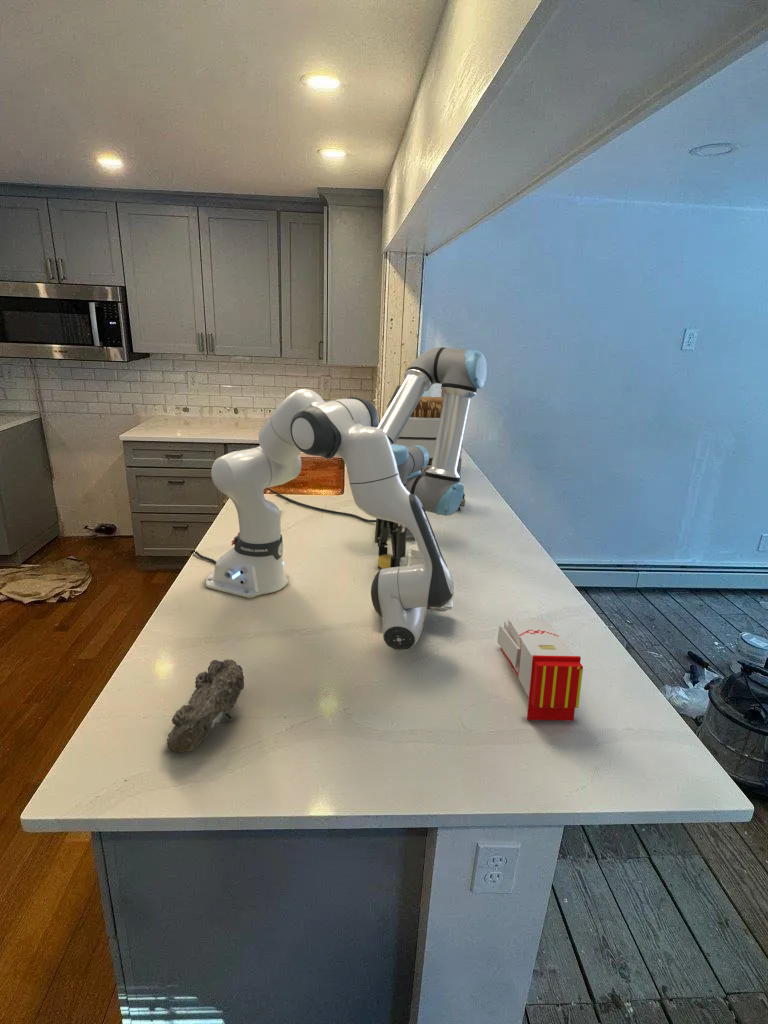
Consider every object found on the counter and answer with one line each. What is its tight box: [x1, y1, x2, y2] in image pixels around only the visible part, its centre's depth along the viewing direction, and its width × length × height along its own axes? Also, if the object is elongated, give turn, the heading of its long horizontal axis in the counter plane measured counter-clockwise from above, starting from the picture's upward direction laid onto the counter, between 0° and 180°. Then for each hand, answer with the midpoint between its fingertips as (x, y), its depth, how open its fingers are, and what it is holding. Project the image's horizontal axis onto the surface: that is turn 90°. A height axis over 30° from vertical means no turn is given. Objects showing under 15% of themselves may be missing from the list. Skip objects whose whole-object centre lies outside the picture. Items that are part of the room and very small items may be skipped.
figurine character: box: [457, 493, 466, 511], centre depth 229 cm, size 7×8×15 cm
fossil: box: [166, 658, 245, 754], centre depth 106 cm, size 22×10×15 cm
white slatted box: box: [386, 384, 464, 483], centre depth 268 cm, size 34×33×41 cm
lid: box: [377, 553, 393, 569], centre depth 170 cm, size 6×6×2 cm
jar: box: [406, 543, 424, 566], centre depth 151 cm, size 6×6×16 cm
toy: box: [497, 618, 584, 722], centre depth 122 cm, size 12×13×30 cm
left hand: (417, 580), depth 152 cm, fingers closed on jar, 5 cm apart
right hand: (388, 571), depth 171 cm, fingers closed on lid, 6 cm apart
